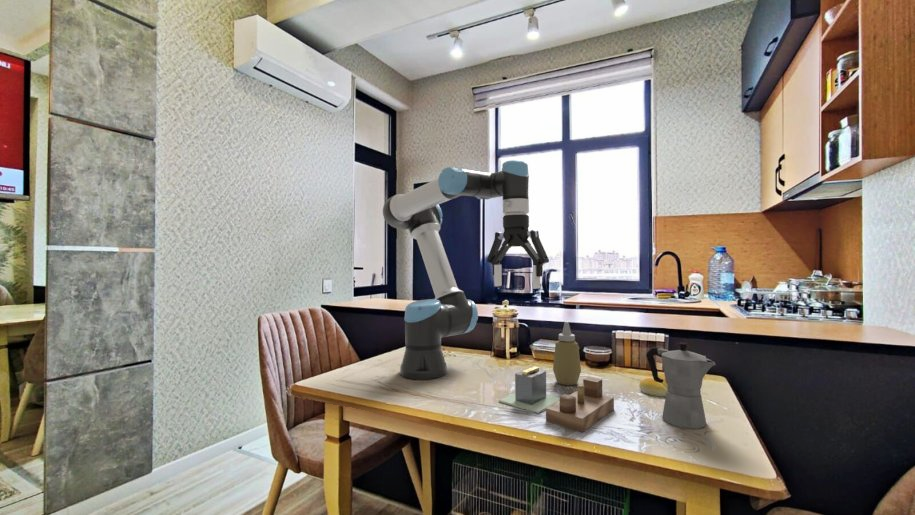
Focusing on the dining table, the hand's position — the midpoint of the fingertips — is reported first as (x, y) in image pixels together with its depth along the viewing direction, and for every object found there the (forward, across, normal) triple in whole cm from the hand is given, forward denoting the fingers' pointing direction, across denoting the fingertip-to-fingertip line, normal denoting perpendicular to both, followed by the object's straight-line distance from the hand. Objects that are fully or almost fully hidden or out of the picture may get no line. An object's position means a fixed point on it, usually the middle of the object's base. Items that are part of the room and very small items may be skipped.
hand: (516, 287), depth 120 cm
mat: (+29, +10, -8) cm, 32 cm away
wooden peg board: (+29, +24, -8) cm, 38 cm away
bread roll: (+29, +32, +21) cm, 48 cm away
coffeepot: (+29, +42, +4) cm, 51 cm away
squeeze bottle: (+29, +10, +11) cm, 32 cm away
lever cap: (+28, +10, -8) cm, 31 cm away
